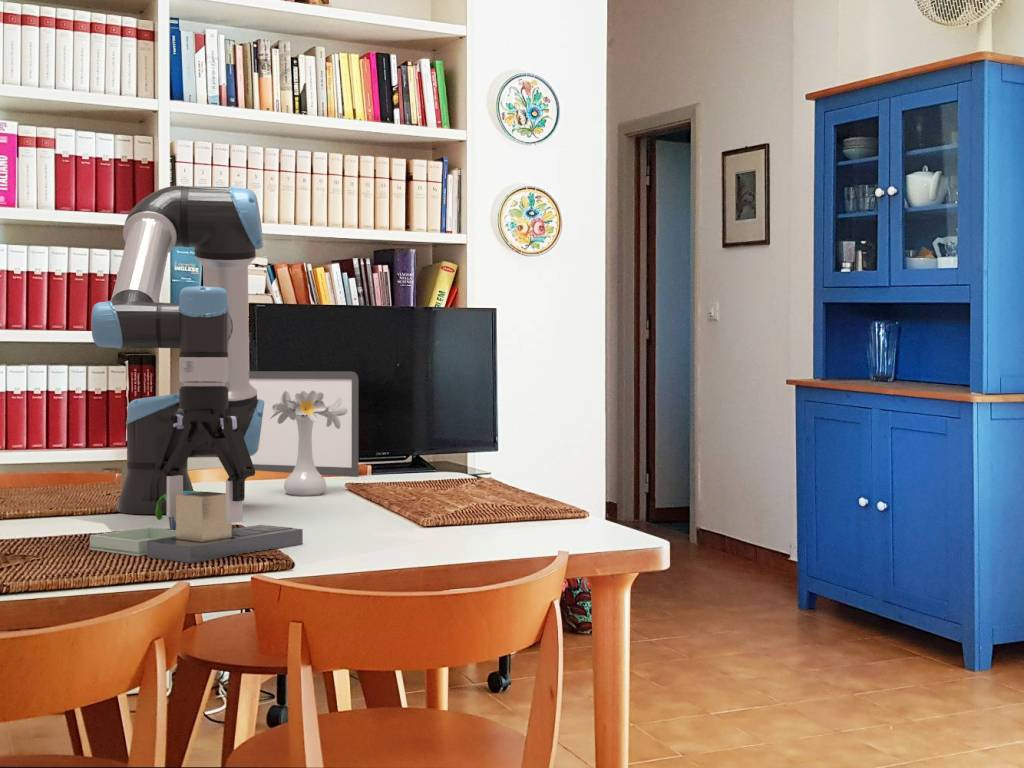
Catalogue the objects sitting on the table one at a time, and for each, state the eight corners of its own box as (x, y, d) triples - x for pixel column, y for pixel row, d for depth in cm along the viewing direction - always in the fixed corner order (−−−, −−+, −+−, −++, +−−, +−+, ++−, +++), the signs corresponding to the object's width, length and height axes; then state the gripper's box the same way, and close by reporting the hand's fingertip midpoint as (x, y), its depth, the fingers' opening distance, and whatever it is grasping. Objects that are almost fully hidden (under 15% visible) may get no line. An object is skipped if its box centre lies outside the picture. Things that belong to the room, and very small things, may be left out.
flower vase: (354, 498, 268) (354, 389, 268) (299, 506, 253) (299, 390, 252) (311, 495, 275) (312, 388, 275) (255, 502, 260) (255, 389, 259)
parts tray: (89, 549, 190) (89, 535, 190) (149, 540, 200) (149, 527, 200) (138, 556, 183) (138, 541, 183) (198, 546, 193) (198, 532, 193)
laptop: (163, 491, 284) (163, 370, 284) (232, 481, 311) (233, 371, 311) (300, 498, 271) (300, 371, 270) (360, 486, 298) (360, 371, 298)
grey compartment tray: (147, 557, 182) (147, 540, 182) (259, 539, 202) (260, 524, 202) (190, 563, 177) (190, 546, 177) (302, 544, 197) (302, 528, 197)
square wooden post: (176, 551, 185) (176, 493, 185) (205, 547, 190) (205, 490, 190) (202, 555, 181) (202, 496, 181) (231, 550, 186) (231, 492, 186)
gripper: (132, 384, 189) (132, 516, 189) (242, 385, 175) (242, 527, 175) (169, 384, 195) (169, 511, 195) (278, 385, 181) (278, 522, 182)
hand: (203, 519), depth 185 cm, fingers open, 13 cm apart
